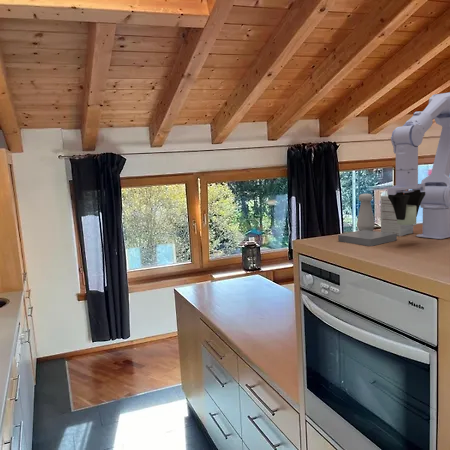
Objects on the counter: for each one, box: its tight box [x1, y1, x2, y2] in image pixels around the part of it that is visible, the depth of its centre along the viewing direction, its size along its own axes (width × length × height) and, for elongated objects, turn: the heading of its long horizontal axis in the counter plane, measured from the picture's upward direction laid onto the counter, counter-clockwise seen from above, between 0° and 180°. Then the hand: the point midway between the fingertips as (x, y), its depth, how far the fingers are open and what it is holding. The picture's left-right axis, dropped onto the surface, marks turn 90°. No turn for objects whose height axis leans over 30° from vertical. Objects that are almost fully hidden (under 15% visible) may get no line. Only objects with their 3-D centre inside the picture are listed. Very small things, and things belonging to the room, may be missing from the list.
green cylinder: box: [397, 205, 417, 226], centre depth 121 cm, size 5×5×5 cm
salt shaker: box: [356, 193, 376, 231], centre depth 147 cm, size 6×6×13 cm
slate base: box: [337, 230, 398, 247], centre depth 131 cm, size 12×12×2 cm
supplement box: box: [380, 194, 414, 237], centre depth 140 cm, size 7×7×13 cm
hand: (406, 218), depth 121 cm, fingers closed on green cylinder, 5 cm apart
